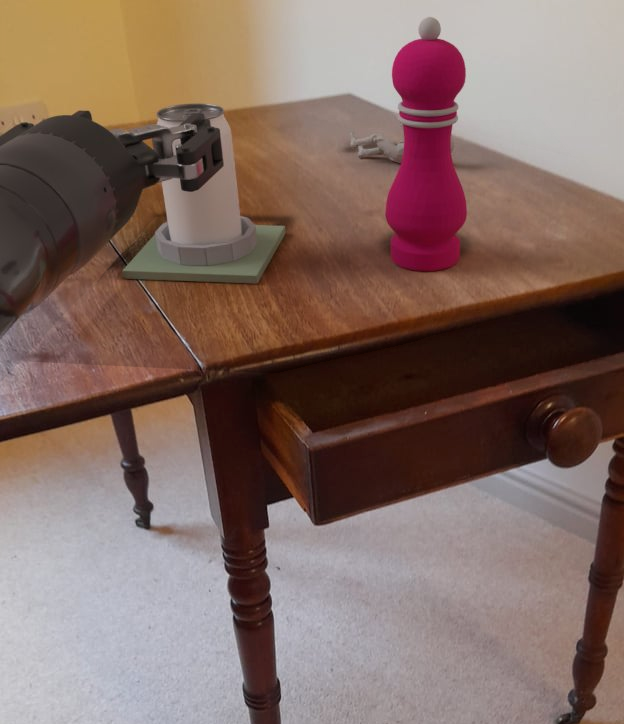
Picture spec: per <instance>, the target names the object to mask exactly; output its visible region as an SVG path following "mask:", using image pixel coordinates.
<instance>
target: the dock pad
mask: <svg viewBox="0 0 624 724" xmlns="http://www.w3.org/2000/svg"><path fill="white" fill-rule="evenodd" d="M240 219H241V229H242V236H240V237H237V238H235V239H233V240H230V241H228V242H223V243H216V244H210V245H182V244H179V243H176V242H172V241H171V239H170V233H169V227H168V220H166V221H164V222H163V223H162V224H161V225H160V226H159V227H157V229H156V230H155V232H154V234H153V236H152V237H150V239H149V240H148V241H147V242H146V243H145V244H144V245H143V247H142V248H141V249H140V250H139V251H138V252H137V253H136V254H135V256H134V257H133V258H132V259H131V260H130V261H129V262H128V264H127V265H125V267H124V268H123V269H122V277H123V279H124V280H146V281H147V280H149V281H171V282H173V281H175V282H198V283H199V282H201V283H223V284H224V283H225V284H227V283H228V284H229V283H230V284H249V285H250V284H251V285H253V284H254V285H256V284H258V283H259V281H260V280H261V278H262V276H263V274H264V273H265V271H266V269H267V267H268V265H269V264H270V262H271V260H272V259H273V256H274V255H275V253H276V252H277V249H278V247H279V245H280V244H281V243H282V241H283V239H284V237H285V235H286V226H285V225H273V224H271V225H266V224H255V223H254V222H252V220H251V219H250V218H249V217H247V216H243V215H240Z"/></svg>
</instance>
